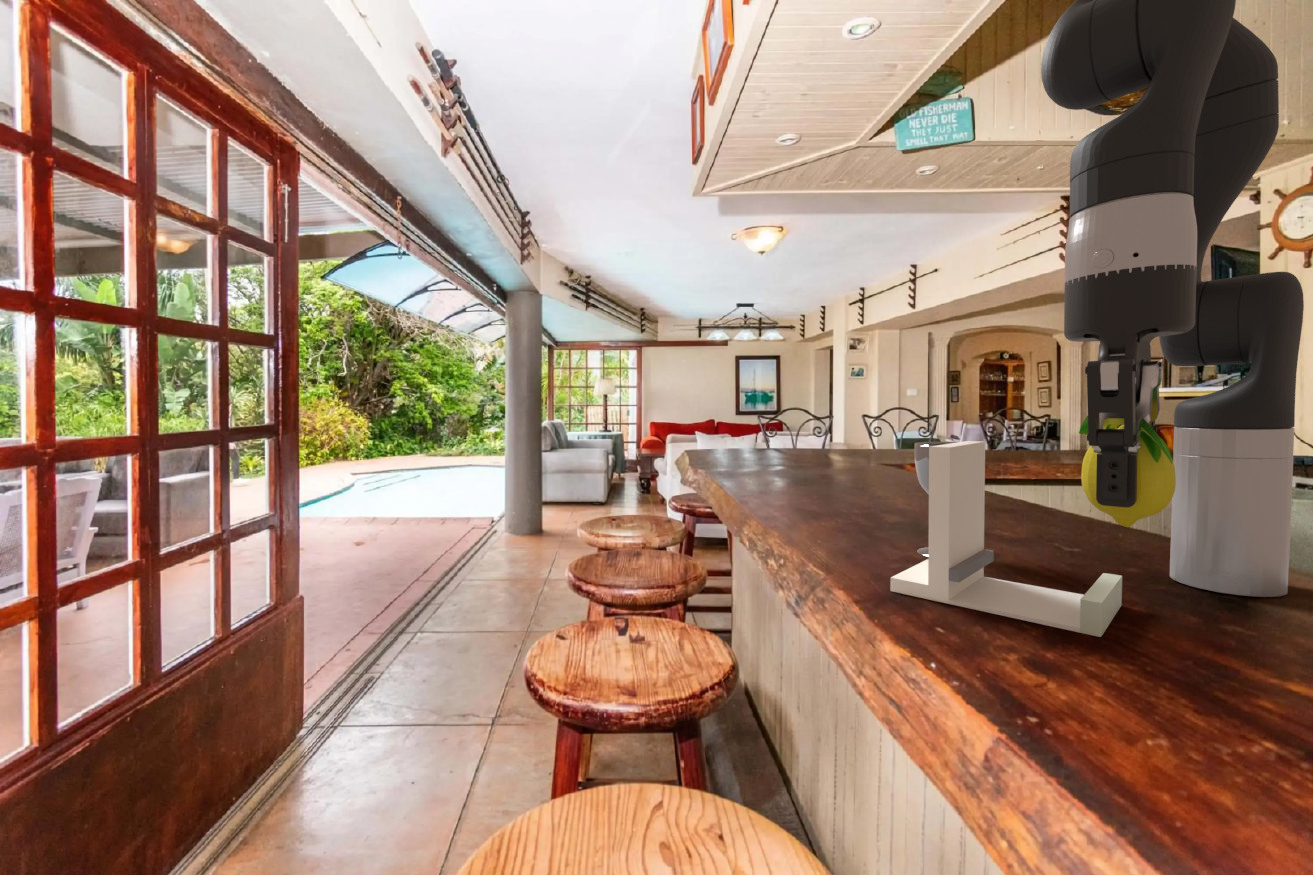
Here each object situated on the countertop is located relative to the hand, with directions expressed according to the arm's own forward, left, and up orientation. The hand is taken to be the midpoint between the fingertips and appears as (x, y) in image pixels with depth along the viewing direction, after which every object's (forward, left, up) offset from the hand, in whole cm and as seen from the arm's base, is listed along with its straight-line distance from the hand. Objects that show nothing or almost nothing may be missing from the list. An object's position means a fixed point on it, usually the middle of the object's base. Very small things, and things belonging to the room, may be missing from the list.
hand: (1122, 498), depth 44 cm
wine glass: (-27, -22, -13) cm, 37 cm away
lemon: (0, 0, -2) cm, 2 cm away
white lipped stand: (-12, -11, -13) cm, 21 cm away
